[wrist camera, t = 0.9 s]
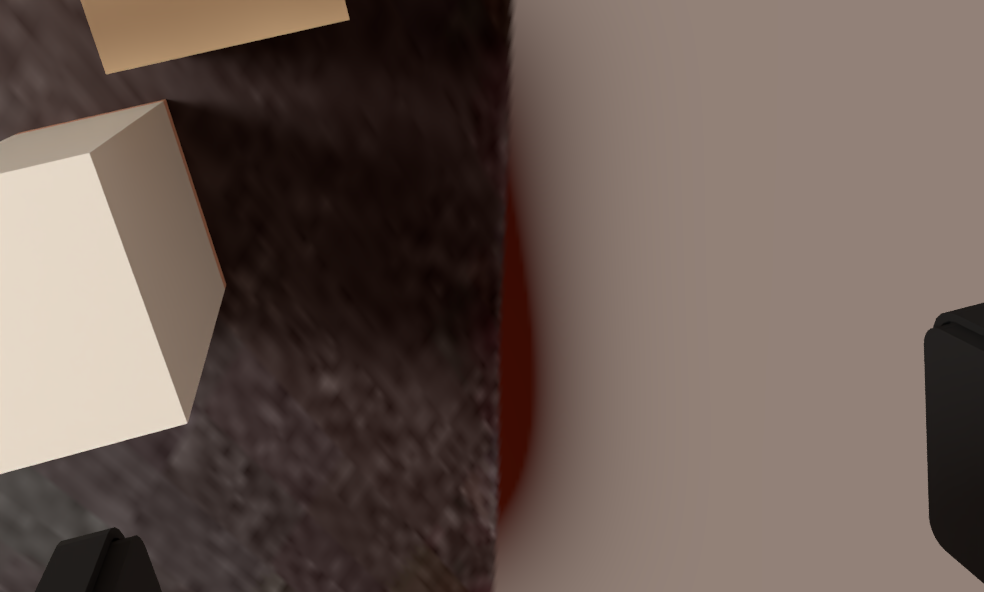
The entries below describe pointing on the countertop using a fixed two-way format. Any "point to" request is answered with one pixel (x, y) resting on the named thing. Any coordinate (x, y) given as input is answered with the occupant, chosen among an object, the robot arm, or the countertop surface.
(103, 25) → the oak block
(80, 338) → the cream block
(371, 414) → the countertop surface
